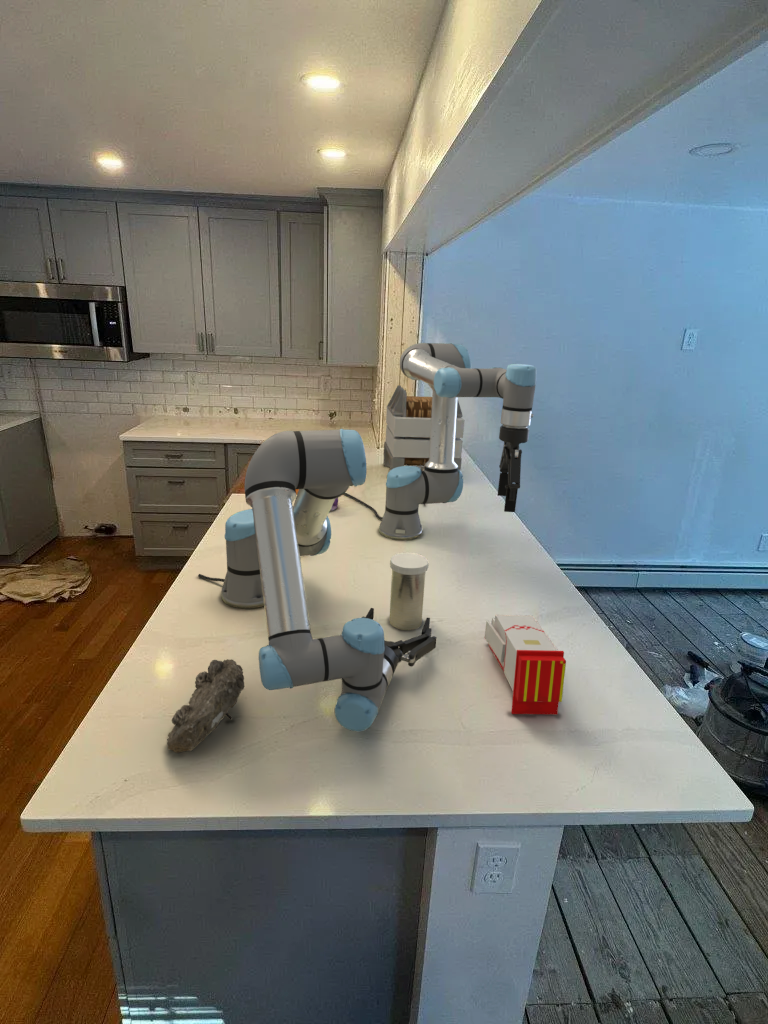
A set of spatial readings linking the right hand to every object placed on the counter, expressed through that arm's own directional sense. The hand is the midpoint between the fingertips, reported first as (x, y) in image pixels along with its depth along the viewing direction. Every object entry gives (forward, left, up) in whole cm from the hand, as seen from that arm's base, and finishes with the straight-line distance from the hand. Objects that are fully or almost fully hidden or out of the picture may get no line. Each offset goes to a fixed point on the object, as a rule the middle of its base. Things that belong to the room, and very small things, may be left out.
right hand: (505, 503), depth 154 cm
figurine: (-83, 0, -26) cm, 87 cm away
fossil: (+1, -87, -26) cm, 91 cm away
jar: (-2, -33, -26) cm, 42 cm away
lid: (-2, -33, -9) cm, 35 cm away
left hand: (+3, -40, -20) cm, 45 cm away
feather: (-73, +43, -26) cm, 89 cm away
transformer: (-100, +66, -26) cm, 123 cm away
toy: (+29, -28, -26) cm, 48 cm away
